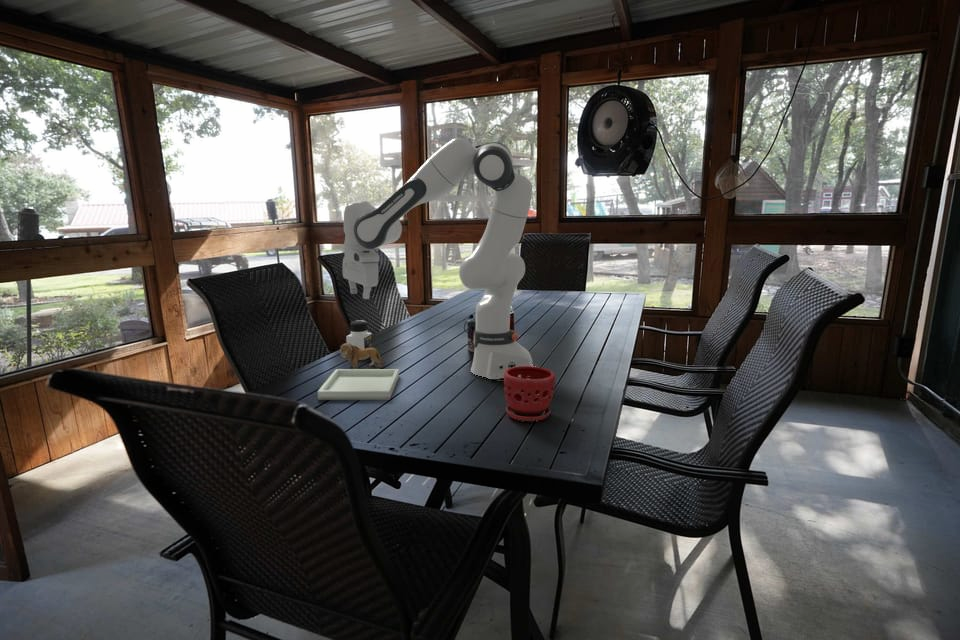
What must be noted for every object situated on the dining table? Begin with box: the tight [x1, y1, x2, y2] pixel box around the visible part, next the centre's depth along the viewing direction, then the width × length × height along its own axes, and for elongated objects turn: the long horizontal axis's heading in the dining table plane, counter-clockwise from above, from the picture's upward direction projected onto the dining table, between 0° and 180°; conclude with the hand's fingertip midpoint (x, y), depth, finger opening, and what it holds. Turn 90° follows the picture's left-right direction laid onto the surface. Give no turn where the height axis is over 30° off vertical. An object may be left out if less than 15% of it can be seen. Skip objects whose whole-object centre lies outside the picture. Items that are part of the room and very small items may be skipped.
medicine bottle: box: [345, 319, 374, 349], centre depth 189 cm, size 7×7×12 cm
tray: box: [317, 368, 400, 401], centre depth 155 cm, size 20×20×2 cm
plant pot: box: [503, 366, 556, 421], centre depth 134 cm, size 13×13×12 cm
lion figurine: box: [339, 342, 386, 369], centre depth 173 cm, size 15×5×9 cm, turn 113°
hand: (359, 296), depth 167 cm, fingers open, 8 cm apart
